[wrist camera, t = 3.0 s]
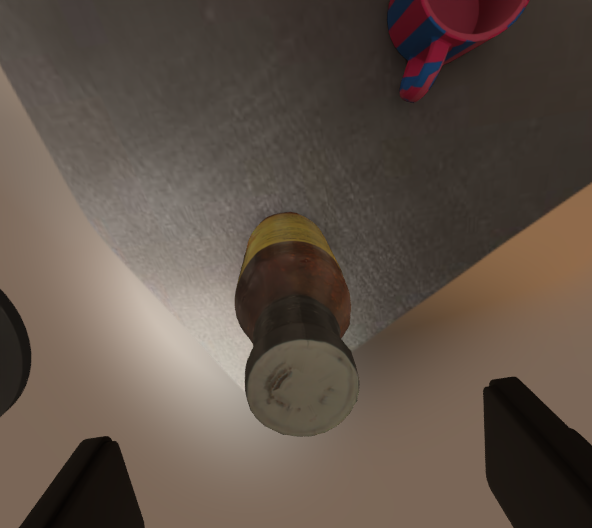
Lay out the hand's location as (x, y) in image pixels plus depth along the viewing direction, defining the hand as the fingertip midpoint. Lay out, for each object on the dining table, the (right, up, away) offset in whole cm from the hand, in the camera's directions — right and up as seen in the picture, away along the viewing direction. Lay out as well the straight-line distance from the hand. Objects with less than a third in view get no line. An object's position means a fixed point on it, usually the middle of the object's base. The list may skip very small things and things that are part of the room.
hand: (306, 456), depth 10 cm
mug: (+9, +21, +19) cm, 30 cm away
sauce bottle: (-1, +6, +23) cm, 24 cm away
